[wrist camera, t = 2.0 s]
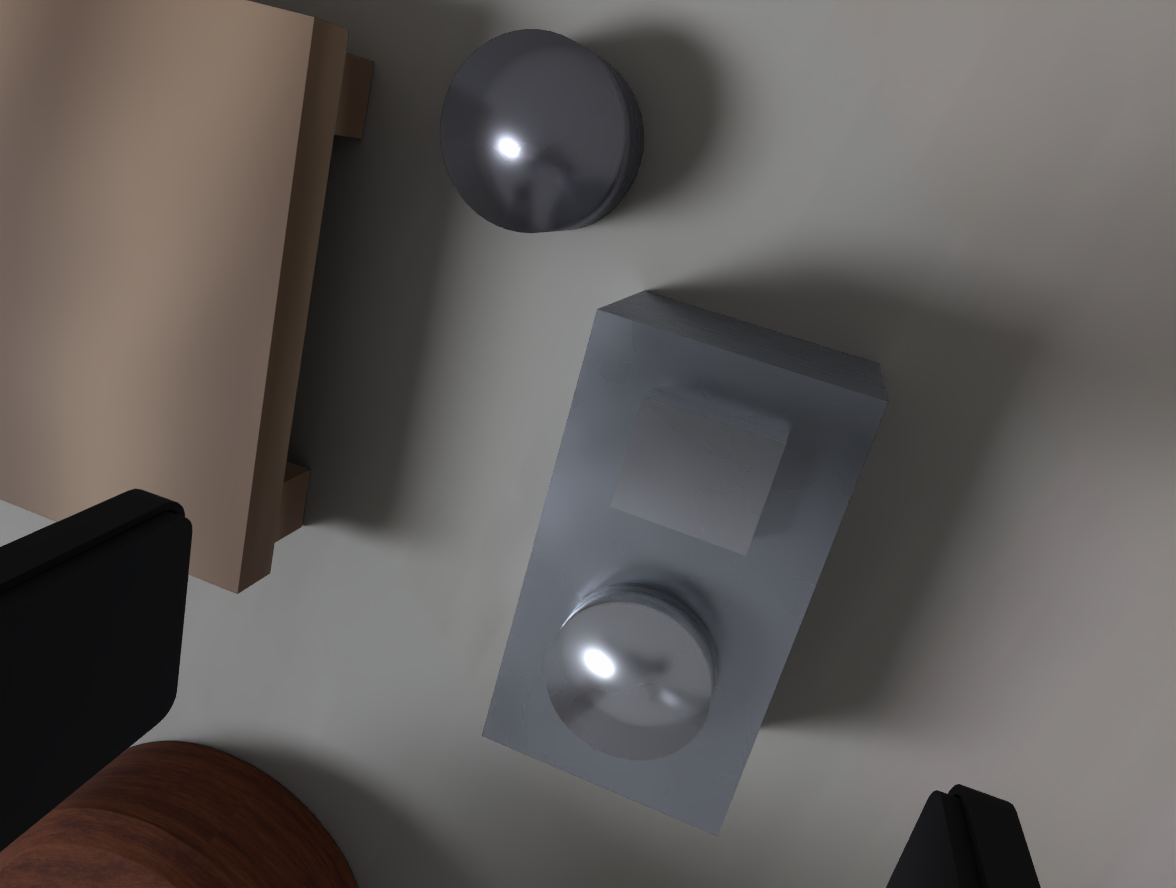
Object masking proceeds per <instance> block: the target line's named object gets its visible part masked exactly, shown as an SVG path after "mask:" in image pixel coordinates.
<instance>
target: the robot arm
mask: <svg viewBox="0 0 1176 888" xmlns="http://www.w3.org/2000/svg"><path fill="white" fill-rule="evenodd" d="M192 533H193V531H192V523H191V521H190V520H189V519H188V518H186V517H185V512H184V509H183V506H181V505H180V504H179V503H178V502H175V501H172V500H170V499H167V498H164V497H161V496H159V495H156V494H153V493H150V492H148V491H145V490H142V489H132V490H128V491H126V492H124V493H121V494H119V495H117V496H115V497H112V498H110V499H108V500H106V501H103V502H101V503H99V504H97V505H94V506H92V507H90V508H88V509H85V510H83V511H81V512H79V513H76V514H74V515H72V516H69V517H67V518H65V519H63V520H60V521H58V522H56V523H54V524H51V525H49V526H47V527H45V528H42V529H40V530H38V531H36V532H33V533H31V534H29V535H27V536H24V537H22V538H20V539H18V540H15V541H13V542H11V543H8V544H6V545H4V546H2V547H0V852H1V851H2V850H4V849H5V848H6V847H7V846H9V845H10V844H11V843H12V842H13V841H15V840H16V839H17V838H18V837H20V836H21V835H22V834H23V833H25V832H26V831H27V830H28V829H29V828H31V827H32V826H33V825H34V824H36V823H37V822H38V821H39V820H40V819H42V818H43V817H44V816H45V815H47V814H48V813H49V812H50V811H51V810H53V809H54V808H55V807H56V806H58V805H59V804H60V803H61V802H63V801H64V800H65V799H66V798H67V797H69V796H70V795H71V794H72V793H74V792H75V791H76V790H77V789H78V788H80V787H81V786H82V785H83V784H85V783H86V782H87V781H88V780H89V779H91V778H92V777H93V776H94V775H96V774H97V773H98V772H99V771H100V770H102V769H103V768H104V767H105V766H107V765H108V764H109V763H110V762H112V761H113V760H114V759H115V758H116V757H118V756H119V755H120V754H121V753H123V752H124V751H125V750H126V749H127V748H129V747H130V746H131V745H132V744H134V743H135V742H136V741H137V740H138V739H140V738H141V737H142V736H143V735H145V734H146V733H147V732H148V731H150V730H151V729H152V728H153V727H154V726H156V725H157V724H158V723H159V722H160V721H161V720H162V719H163V718H164V717H165V716H166V715H167V713H168V712H169V710H170V709H171V707H172V705H173V703H174V700H175V698H176V693H177V685H178V675H179V665H180V655H181V644H182V634H183V624H184V614H185V604H186V594H187V583H188V573H189V563H190V553H191V543H192ZM886 888H1041V887H1040V884H1039V881H1038V878H1037V875H1036V872H1035V868H1034V865H1033V862H1032V859H1031V856H1030V853H1029V850H1028V846H1027V843H1026V840H1025V837H1024V834H1023V831H1022V827H1021V824H1020V821H1019V818H1018V815H1017V812H1016V810H1015V808H1014V806H1013V804H1011V803H1009V802H1007V801H1005V800H1002V799H999V798H996V797H994V796H991V795H988V794H985V793H983V792H980V791H977V790H974V789H971V788H969V787H966V786H963V785H960V784H958V785H955V786H954V787H953V788H952V789H951V790H950V791H949V793H948V794H946V793H943V792H940V791H938V790H936V791H934V792H933V793H932V794H931V795H930V796H929V798H928V800H927V802H926V804H925V806H924V808H923V810H922V812H921V814H920V817H919V819H918V821H917V823H916V825H915V827H914V829H913V831H912V834H911V836H910V838H909V840H908V842H907V844H906V846H905V848H904V851H903V853H902V855H901V857H900V859H899V861H898V863H897V865H896V868H895V870H894V872H893V874H892V876H891V878H890V880H889V882H888V885H887V887H886Z"/></svg>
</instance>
